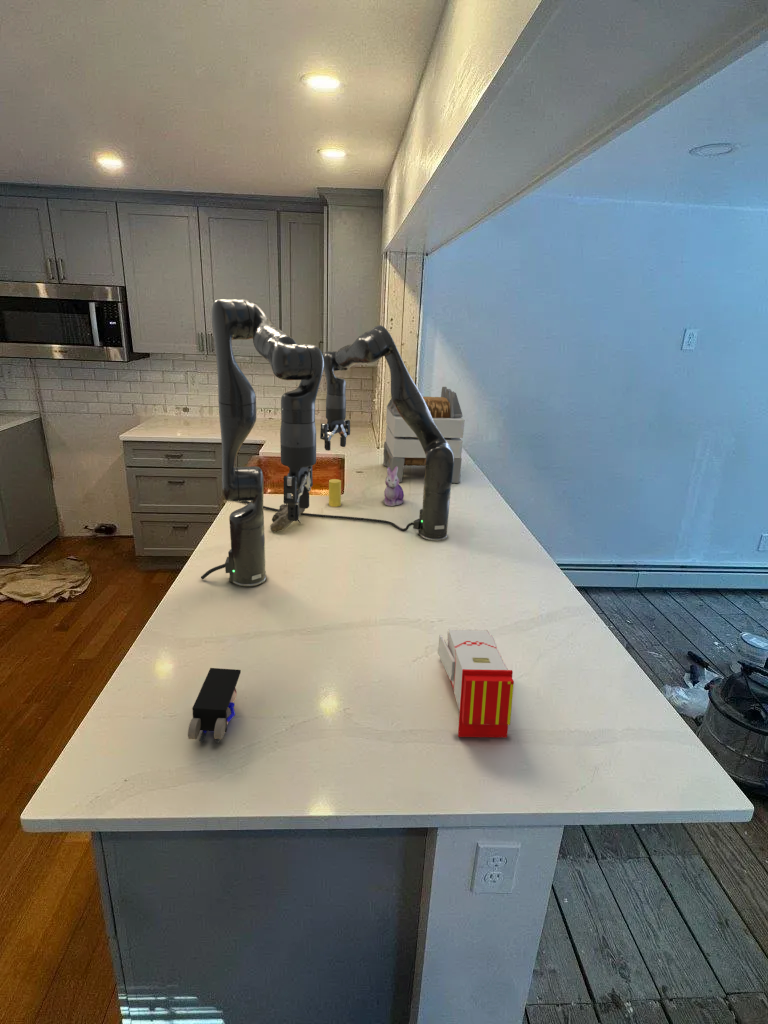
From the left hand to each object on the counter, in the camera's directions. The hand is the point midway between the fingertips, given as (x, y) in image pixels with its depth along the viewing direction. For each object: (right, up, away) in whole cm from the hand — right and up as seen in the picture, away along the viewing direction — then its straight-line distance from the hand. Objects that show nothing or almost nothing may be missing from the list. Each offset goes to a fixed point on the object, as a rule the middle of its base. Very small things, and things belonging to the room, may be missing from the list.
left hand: (299, 513), depth 125 cm
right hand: (0, +25, +93) cm, 96 cm away
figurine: (+23, +4, +106) cm, 108 cm away
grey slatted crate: (+36, +19, +150) cm, 155 cm away
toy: (+37, -37, -7) cm, 53 cm away
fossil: (-15, -4, +80) cm, 81 cm away
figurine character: (-13, -39, -19) cm, 45 cm away
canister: (-1, +3, +101) cm, 101 cm away
